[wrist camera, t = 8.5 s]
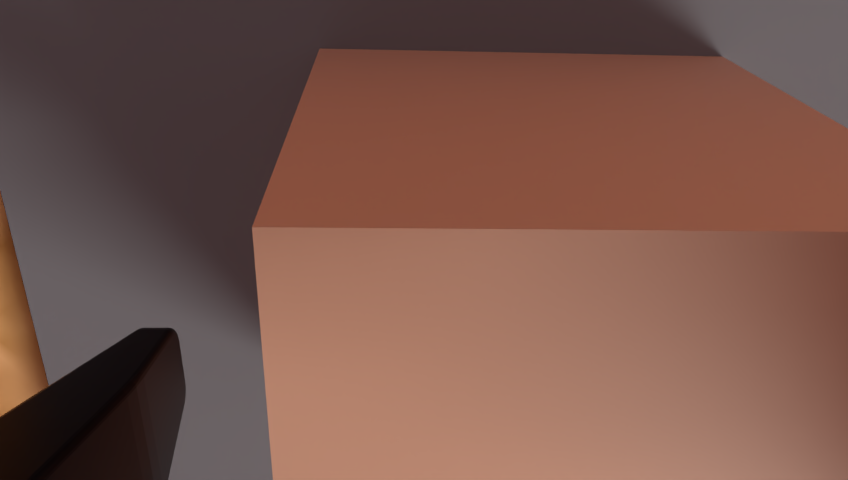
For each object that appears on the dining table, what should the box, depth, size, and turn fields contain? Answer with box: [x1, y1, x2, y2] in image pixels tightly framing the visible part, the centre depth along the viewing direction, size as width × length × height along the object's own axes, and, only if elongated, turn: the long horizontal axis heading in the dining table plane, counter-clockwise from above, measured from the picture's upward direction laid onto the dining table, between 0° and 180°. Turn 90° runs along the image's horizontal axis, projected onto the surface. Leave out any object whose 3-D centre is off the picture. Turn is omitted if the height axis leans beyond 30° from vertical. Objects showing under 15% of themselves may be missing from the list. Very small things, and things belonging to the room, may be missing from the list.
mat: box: [0, 0, 848, 480], centre depth 13 cm, size 18×16×1 cm
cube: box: [252, 49, 848, 480], centre depth 10 cm, size 6×6×6 cm
